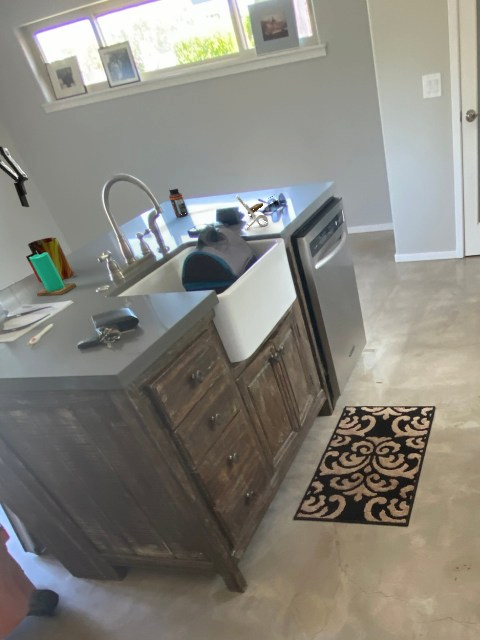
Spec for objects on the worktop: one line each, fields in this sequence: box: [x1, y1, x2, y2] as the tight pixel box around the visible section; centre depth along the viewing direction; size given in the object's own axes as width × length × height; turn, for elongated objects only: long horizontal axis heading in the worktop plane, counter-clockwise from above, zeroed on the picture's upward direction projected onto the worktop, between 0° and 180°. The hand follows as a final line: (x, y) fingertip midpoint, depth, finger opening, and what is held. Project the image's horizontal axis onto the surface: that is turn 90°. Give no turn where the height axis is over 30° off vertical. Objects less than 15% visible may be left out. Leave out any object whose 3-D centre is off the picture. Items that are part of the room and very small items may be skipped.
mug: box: [25, 236, 75, 284], centre depth 186 cm, size 10×14×12 cm
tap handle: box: [247, 195, 273, 218], centre depth 237 cm, size 3×3×30 cm
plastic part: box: [235, 194, 269, 231], centre depth 211 cm, size 8×10×12 cm
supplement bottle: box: [168, 187, 189, 218], centre depth 245 cm, size 6×6×11 cm
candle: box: [29, 251, 65, 291], centre depth 173 cm, size 6×6×12 cm
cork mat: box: [36, 282, 77, 297], centre depth 177 cm, size 10×8×1 cm
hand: (6, 209), depth 170 cm, fingers open, 13 cm apart
